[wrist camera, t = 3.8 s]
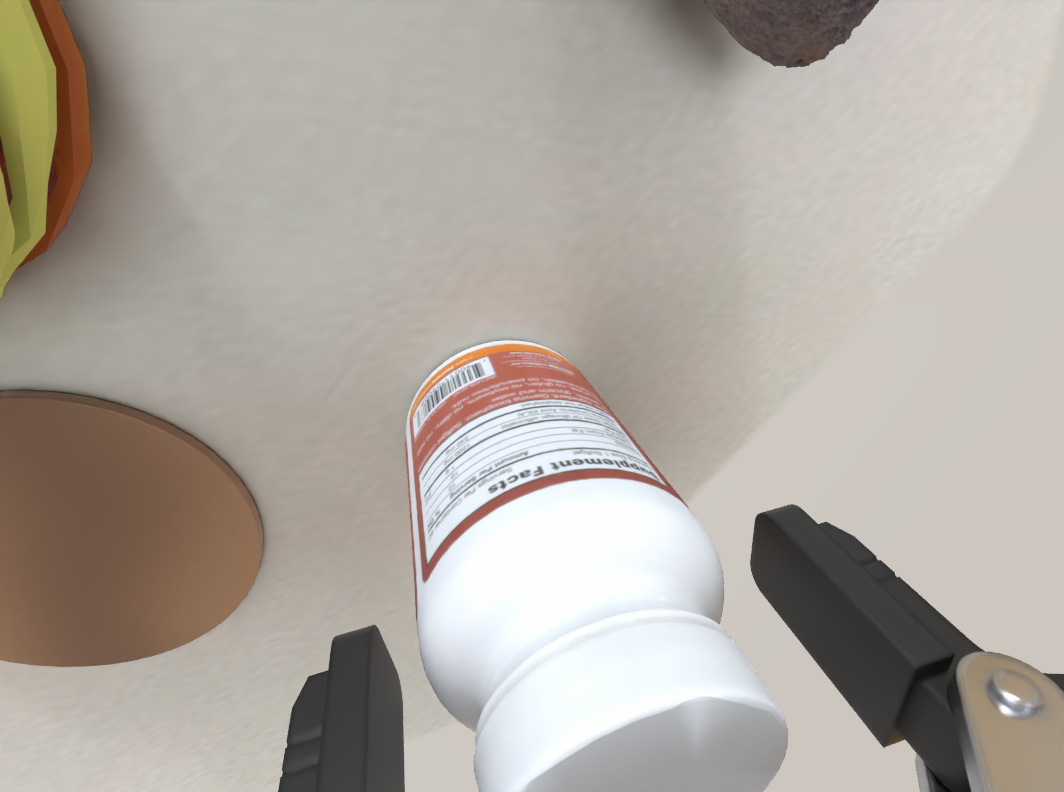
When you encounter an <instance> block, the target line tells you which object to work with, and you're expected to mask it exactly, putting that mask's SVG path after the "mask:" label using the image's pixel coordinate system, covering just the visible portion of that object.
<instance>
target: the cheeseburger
mask: <svg viewBox="0 0 1064 792" xmlns="http://www.w3.org/2000/svg"><path fill="white" fill-rule="evenodd" d="M91 163H92V151H91V137H90V122H89V108H88V93H87V79H86V66H85V63H84V61H83V59H82V56H81V54H80V51H79V49H78V47H77V44H76V42H75V40H74V37H73V35H72V32H71V30H70V28H69V25H68V23H67V21H66V18H65V16H64V13H63V11H62V9H61V6H60V4H59V1H58V0H0V299H2V296H3V292H4V287H5V285H6V284H7V282H8V280H9V279H10V277H11V275H12V274H13V272H14V270H16V269H18V268H19V267H21V266H22V265H24V264H26V263H27V262H29V261H30V260H32V259H34V258H35V257H37V256H39V255H40V254H42V253H43V252H45V251H46V250H47V249H48V248H49V247H50V245H51V244H52V243H53V242H54V240H55V239H56V238H57V236H58V235H59V234H60V233H61V231H62V230H63V229H64V228H65V226H66V224H67V221H68V219H69V216H70V214H71V211H72V209H73V206H74V204H75V202H76V199H77V197H78V194H79V192H80V189H81V187H82V184H83V182H84V180H85V177H86V175H87V172H88V170H89V167H90V165H91Z"/></svg>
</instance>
